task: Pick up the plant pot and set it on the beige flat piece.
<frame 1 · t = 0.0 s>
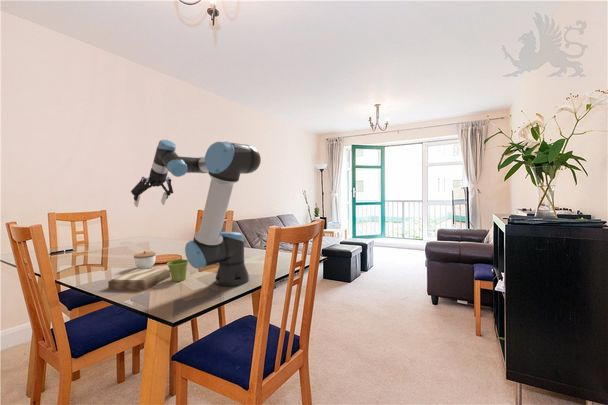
hand: (149, 204, 149), 36 cm above the table, tool tilted 35°, fingers open, 13 cm apart
lidded jar: (145, 268, 159), on the table
beige flat piece: (141, 282, 134), on the table
plant pot: (178, 280, 137), on the table
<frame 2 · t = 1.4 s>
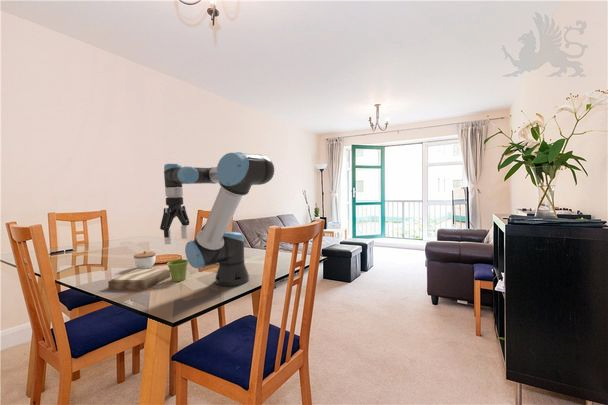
hand: (176, 241, 136), 19 cm above the table, tool pointing down, fingers open, 13 cm apart
nothing on the table moved.
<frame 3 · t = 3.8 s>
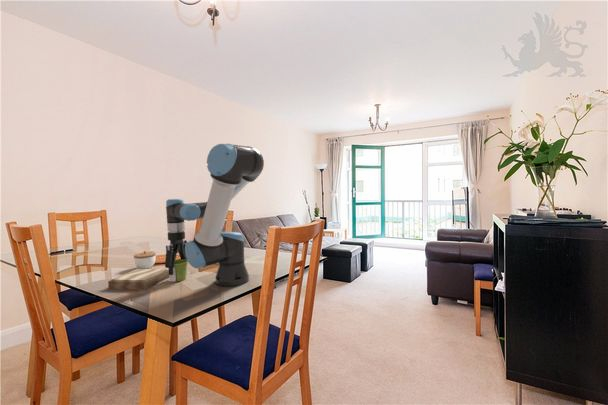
hand: (178, 277, 137), 1 cm above the table, tool pointing down, fingers closed on plant pot, 9 cm apart
plant pot: (178, 280, 137), on the table, touching gripper
everything else where it was.
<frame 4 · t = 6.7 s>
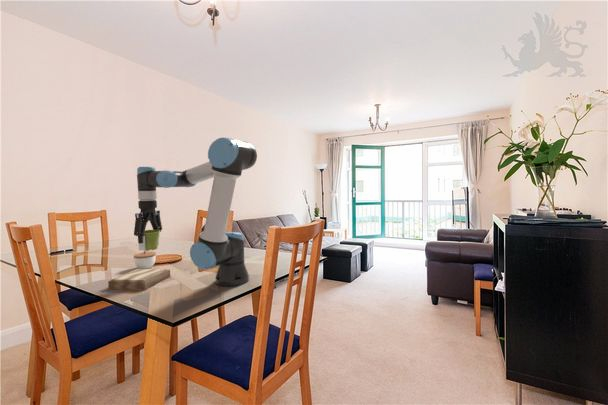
hand: (149, 247, 134), 16 cm above the table, tool pointing down, fingers closed on plant pot, 9 cm apart
plant pot: (150, 249, 135), point 15 cm above the table, touching gripper
everything else where it was.
when the fingers open (6 cm above the table, at t = 9.7 s): plant pot moves 3 cm, resting on beige flat piece.
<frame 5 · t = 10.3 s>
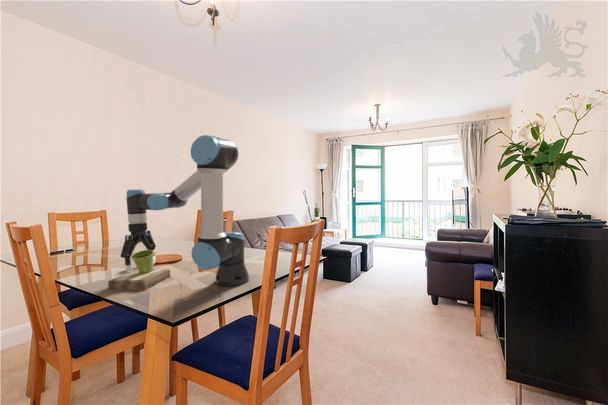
hand: (140, 267, 134), 7 cm above the table, tool pointing down, fingers open, 13 cm apart
plant pot: (146, 270, 137), point 4 cm above the table, touching gripper, beige flat piece
everything else where it was.
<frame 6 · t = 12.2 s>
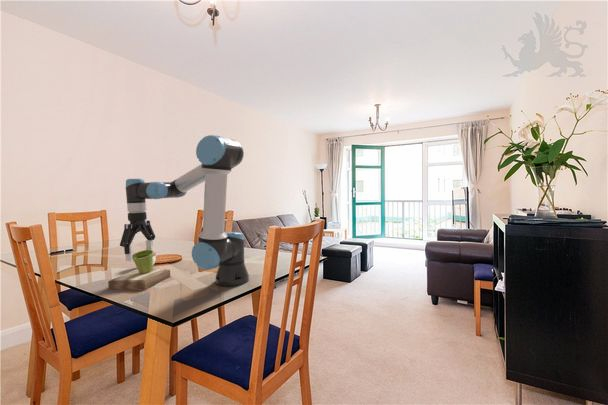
hand: (139, 257, 133), 12 cm above the table, tool pointing down, fingers open, 13 cm apart
plant pot: (146, 270, 137), point 4 cm above the table, touching beige flat piece
everything else where it was.
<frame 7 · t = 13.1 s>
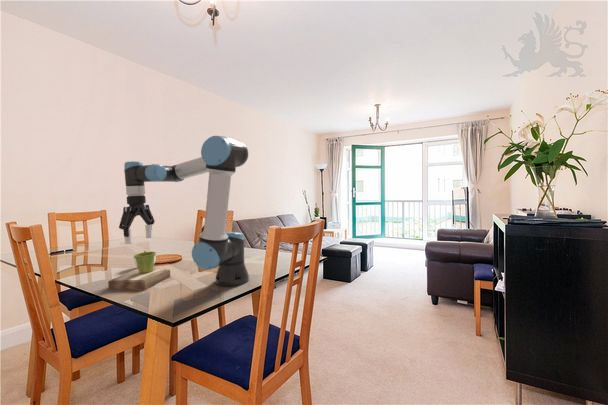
hand: (139, 240, 133), 20 cm above the table, tool pointing down, fingers open, 13 cm apart
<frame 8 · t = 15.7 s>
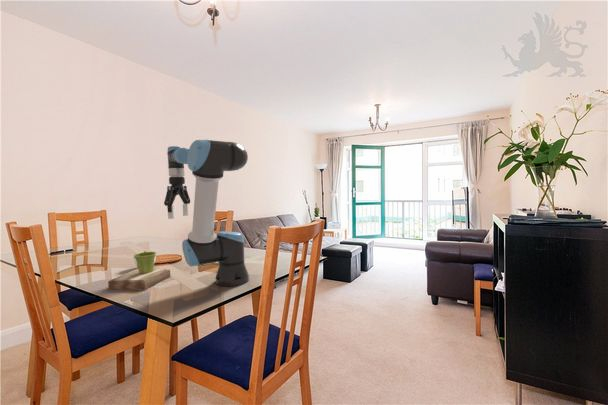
hand: (178, 217, 150), 29 cm above the table, tool pointing down, fingers open, 13 cm apart
at the end: plant pot inside the target area on the beige flat piece (3.7 cm from its centre), point 3.8 cm above the beige flat piece's base; plant pot tilted 0°; the gripper is holding nothing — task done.
